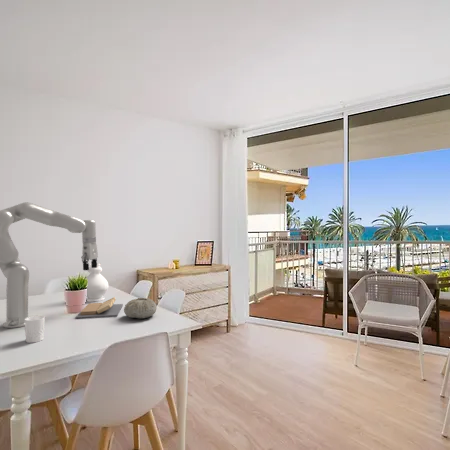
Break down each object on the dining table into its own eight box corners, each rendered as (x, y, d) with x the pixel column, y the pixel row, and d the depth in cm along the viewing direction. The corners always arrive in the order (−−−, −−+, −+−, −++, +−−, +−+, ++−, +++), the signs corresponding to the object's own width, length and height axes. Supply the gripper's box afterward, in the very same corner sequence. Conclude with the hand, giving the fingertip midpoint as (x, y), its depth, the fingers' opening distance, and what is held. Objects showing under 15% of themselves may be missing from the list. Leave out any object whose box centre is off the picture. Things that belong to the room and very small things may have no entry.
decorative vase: (92, 303, 211) (92, 266, 211) (75, 300, 220) (75, 264, 220) (114, 298, 226) (114, 263, 226) (97, 295, 235) (97, 261, 235)
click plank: (110, 307, 183) (109, 304, 183) (98, 313, 182) (96, 310, 181) (115, 299, 202) (114, 297, 202) (104, 305, 201) (103, 302, 201)
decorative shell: (145, 323, 169) (145, 304, 169) (117, 319, 175) (117, 301, 175) (162, 314, 186) (162, 297, 186) (136, 311, 192) (136, 294, 192)
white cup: (48, 337, 147) (48, 315, 147) (38, 343, 140) (39, 320, 140) (30, 337, 147) (30, 315, 147) (20, 343, 139) (20, 320, 139)
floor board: (117, 316, 181) (117, 311, 181) (75, 318, 176) (75, 313, 176) (122, 305, 206) (122, 300, 206) (86, 307, 202) (86, 302, 202)
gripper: (87, 241, 183) (88, 271, 183) (101, 239, 200) (102, 266, 201) (75, 241, 184) (76, 271, 184) (90, 239, 201) (91, 266, 201)
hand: (90, 268), depth 192 cm, fingers open, 9 cm apart
